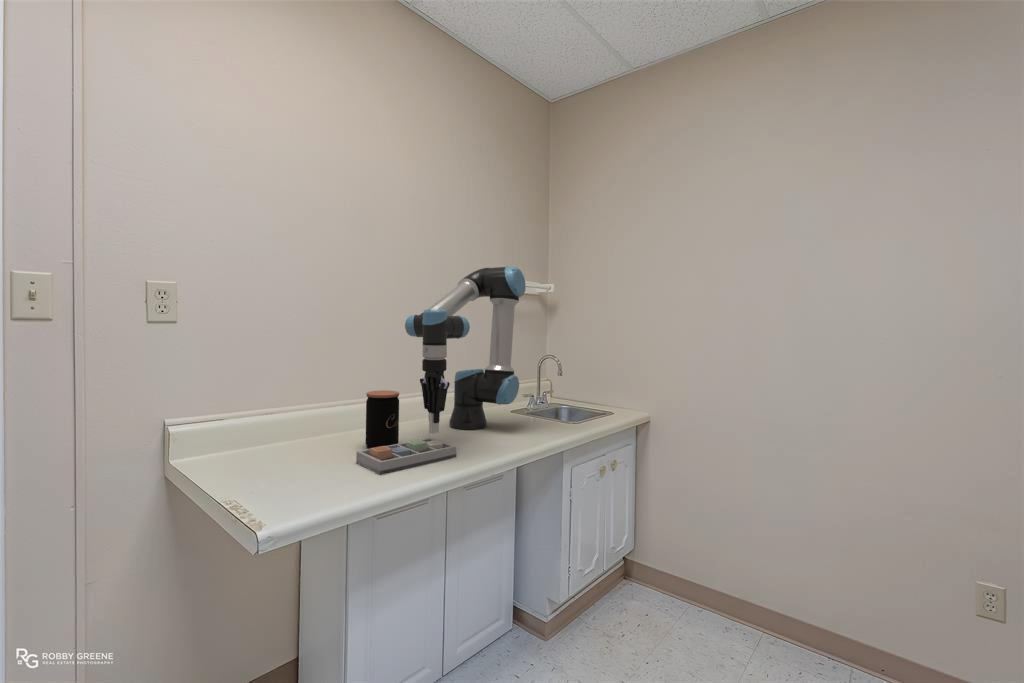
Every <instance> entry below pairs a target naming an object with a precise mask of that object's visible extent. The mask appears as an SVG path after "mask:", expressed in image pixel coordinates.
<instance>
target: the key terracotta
mask: <svg viewBox="0 0 1024 683" xmlns="http://www.w3.org/2000/svg"><path fill="white" fill-rule="evenodd" d="M369 449H370V456H372V457H374V458H377V459H379V460H381V459H386V458H391V457H392V449H391V448H388V447H386V446H380V447H375V448H369Z"/></svg>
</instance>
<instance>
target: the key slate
mask: <svg viewBox="0 0 1024 683" xmlns="http://www.w3.org/2000/svg"><path fill="white" fill-rule="evenodd" d="M392 453H395V454H397V455H399V456H402V457H403V456H408V455H410V449H407V448H404V447H397V448H392Z"/></svg>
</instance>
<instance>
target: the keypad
mask: <svg viewBox="0 0 1024 683" xmlns="http://www.w3.org/2000/svg"><path fill="white" fill-rule="evenodd" d="M420 440H422V441H425V442H428V441H434V440H435V441H438V442H441V443H443V448H441V449H434V448H432V447H429V446H427V450H425V451H420V452H416V451H414V450H411V449H410V455H408V456H403V457H402V456H399V455H397V454H395V453H392V457H391V458H386V459H381V460H379V459H377V458H374V457H372V456H370V448H367V449H362V450H357V451H355V452H356V455H355V456H356V457H355V458H356V459H355V461H356V464H358V465H360V466H361V467H364V468H366V469H368V470H370V471H371V472H374V473H375V474H378V475H380V476H381V475H386V474H388V473H389V474H390V473H394V472H397V471H402V470H406V469H411V468H412V469H413V468H416V467H420V466H425V465H428V464H433V463H436V462H441V461H446V460H449V459H455V458H457V446H456V445H453V444H450V443H448V442H445V441H441V440H438V439H435V438H432V437H427V438H423V439H422V438H421V439H420ZM406 442H407V441H405V442H400V443H399V442H398V444H394V445H389V446H386V447H388V448H391V449H392V448H397V447H404V448H406ZM407 449H409V448H407Z"/></svg>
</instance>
